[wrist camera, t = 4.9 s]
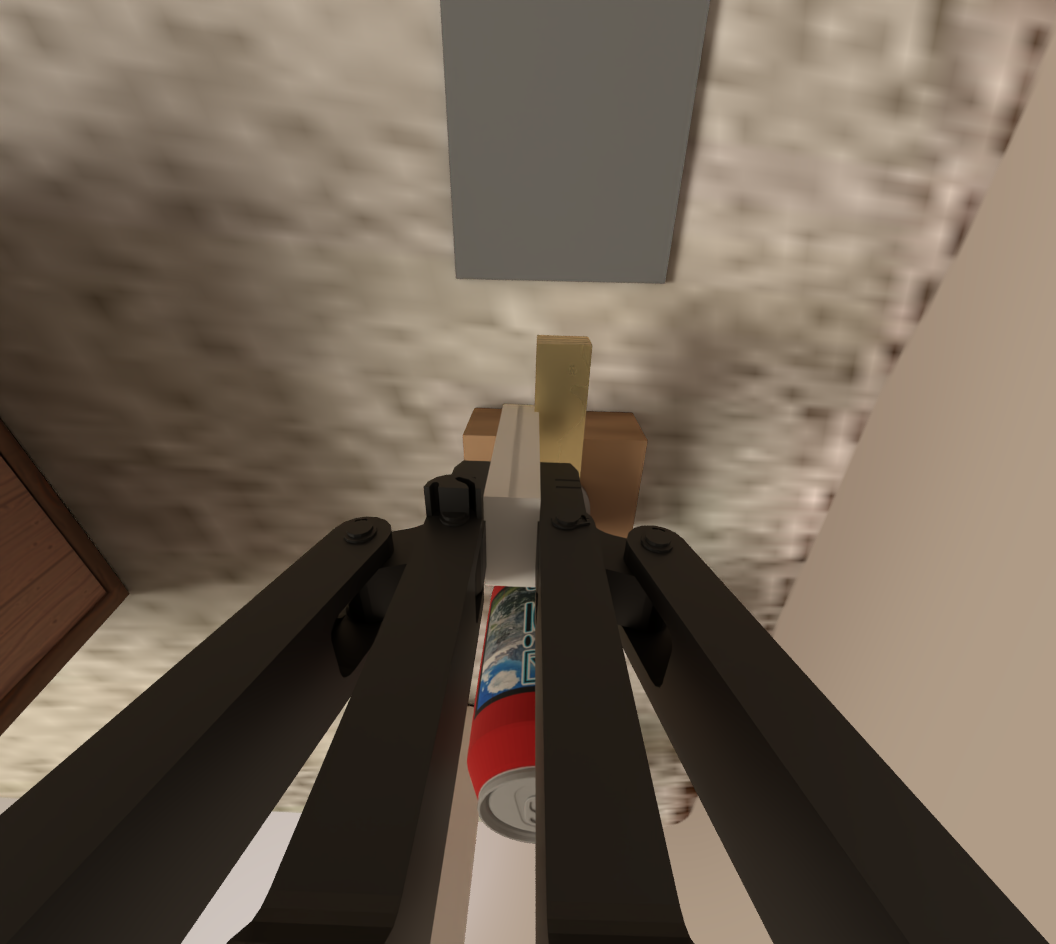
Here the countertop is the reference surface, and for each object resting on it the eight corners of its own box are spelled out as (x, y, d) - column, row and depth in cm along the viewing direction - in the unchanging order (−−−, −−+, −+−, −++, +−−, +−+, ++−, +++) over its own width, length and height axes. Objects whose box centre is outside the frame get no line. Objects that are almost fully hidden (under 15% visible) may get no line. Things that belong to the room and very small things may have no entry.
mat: (441, -14, 14) (439, -21, 14) (708, -12, 14) (713, -18, 14) (457, 278, 18) (455, 278, 18) (662, 282, 18) (665, 283, 18)
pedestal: (474, 407, 21) (460, 439, 18) (632, 412, 21) (650, 445, 18) (479, 521, 25) (468, 567, 21) (615, 526, 24) (627, 573, 21)
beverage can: (601, 554, 25) (643, 772, 15) (590, 632, 29) (618, 856, 18) (491, 549, 26) (454, 762, 15) (492, 627, 29) (463, 848, 18)
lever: (523, 333, 15) (521, 345, 13) (600, 335, 15) (609, 348, 13) (520, 540, 20) (517, 572, 18) (579, 542, 20) (583, 575, 18)
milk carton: (402, 690, 32) (250, 1164, 16) (491, 707, 33) (437, 1179, 16) (392, 741, 36) (258, 1176, 19) (473, 755, 36) (414, 1189, 20)
